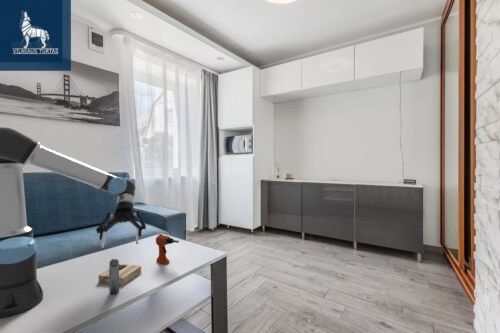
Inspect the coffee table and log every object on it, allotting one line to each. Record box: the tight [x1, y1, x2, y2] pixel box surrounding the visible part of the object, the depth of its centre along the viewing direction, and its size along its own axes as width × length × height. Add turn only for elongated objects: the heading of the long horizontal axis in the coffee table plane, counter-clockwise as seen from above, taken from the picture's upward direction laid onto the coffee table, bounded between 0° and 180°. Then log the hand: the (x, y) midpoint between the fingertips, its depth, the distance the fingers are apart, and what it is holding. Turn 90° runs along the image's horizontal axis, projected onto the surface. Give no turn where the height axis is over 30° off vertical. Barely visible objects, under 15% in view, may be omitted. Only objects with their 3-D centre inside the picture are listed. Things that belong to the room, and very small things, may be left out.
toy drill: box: [155, 233, 180, 266], centre depth 120 cm, size 5×19×15 cm, turn 53°
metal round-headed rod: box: [108, 258, 120, 296], centre depth 94 cm, size 3×3×14 cm
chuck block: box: [98, 263, 142, 286], centre depth 107 cm, size 12×12×3 cm
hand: (119, 244), depth 104 cm, fingers open, 13 cm apart
